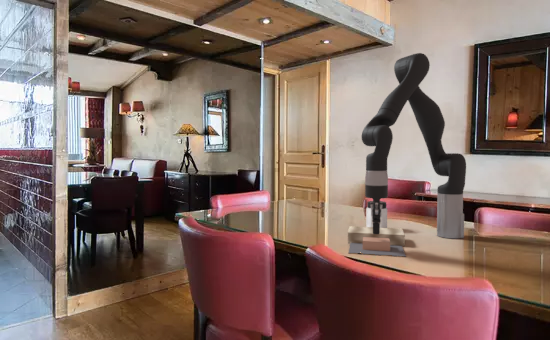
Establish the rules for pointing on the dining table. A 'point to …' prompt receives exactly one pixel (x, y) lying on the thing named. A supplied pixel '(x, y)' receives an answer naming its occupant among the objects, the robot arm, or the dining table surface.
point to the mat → (394, 250)
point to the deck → (376, 235)
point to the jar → (383, 218)
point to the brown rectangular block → (376, 244)
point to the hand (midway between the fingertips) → (376, 233)
